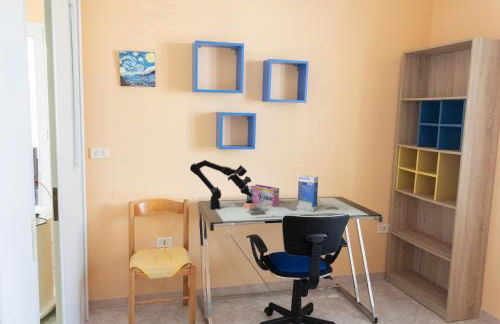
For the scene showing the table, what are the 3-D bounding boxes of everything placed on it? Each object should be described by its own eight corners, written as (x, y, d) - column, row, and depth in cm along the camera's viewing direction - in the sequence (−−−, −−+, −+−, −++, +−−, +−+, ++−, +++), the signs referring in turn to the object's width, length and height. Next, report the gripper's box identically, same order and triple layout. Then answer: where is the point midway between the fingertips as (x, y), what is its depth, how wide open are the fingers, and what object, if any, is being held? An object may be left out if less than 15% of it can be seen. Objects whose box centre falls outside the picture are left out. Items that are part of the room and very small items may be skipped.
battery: (249, 204, 293) (250, 187, 292) (245, 202, 296) (245, 186, 295) (253, 203, 297) (254, 186, 295) (249, 202, 300) (249, 185, 298)
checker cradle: (251, 216, 275) (252, 212, 274) (246, 212, 285) (246, 208, 285) (266, 215, 279) (266, 210, 278) (260, 211, 289) (260, 207, 289)
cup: (246, 210, 292) (246, 203, 291) (242, 207, 299) (242, 201, 299) (256, 209, 295) (256, 203, 294) (252, 207, 302) (252, 200, 302)
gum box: (248, 201, 320) (249, 185, 318) (254, 200, 326) (255, 184, 325) (273, 206, 306) (274, 189, 304) (278, 205, 312) (279, 188, 310)
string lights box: (317, 209, 300) (318, 176, 296) (312, 211, 294) (314, 177, 290) (301, 207, 307) (302, 174, 304) (296, 208, 301) (298, 175, 297)
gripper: (245, 175, 284) (260, 190, 286) (244, 171, 302) (258, 185, 305) (234, 186, 284) (249, 201, 287) (234, 181, 303) (247, 195, 305)
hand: (251, 195), depth 296 cm, fingers closed on battery, 4 cm apart
